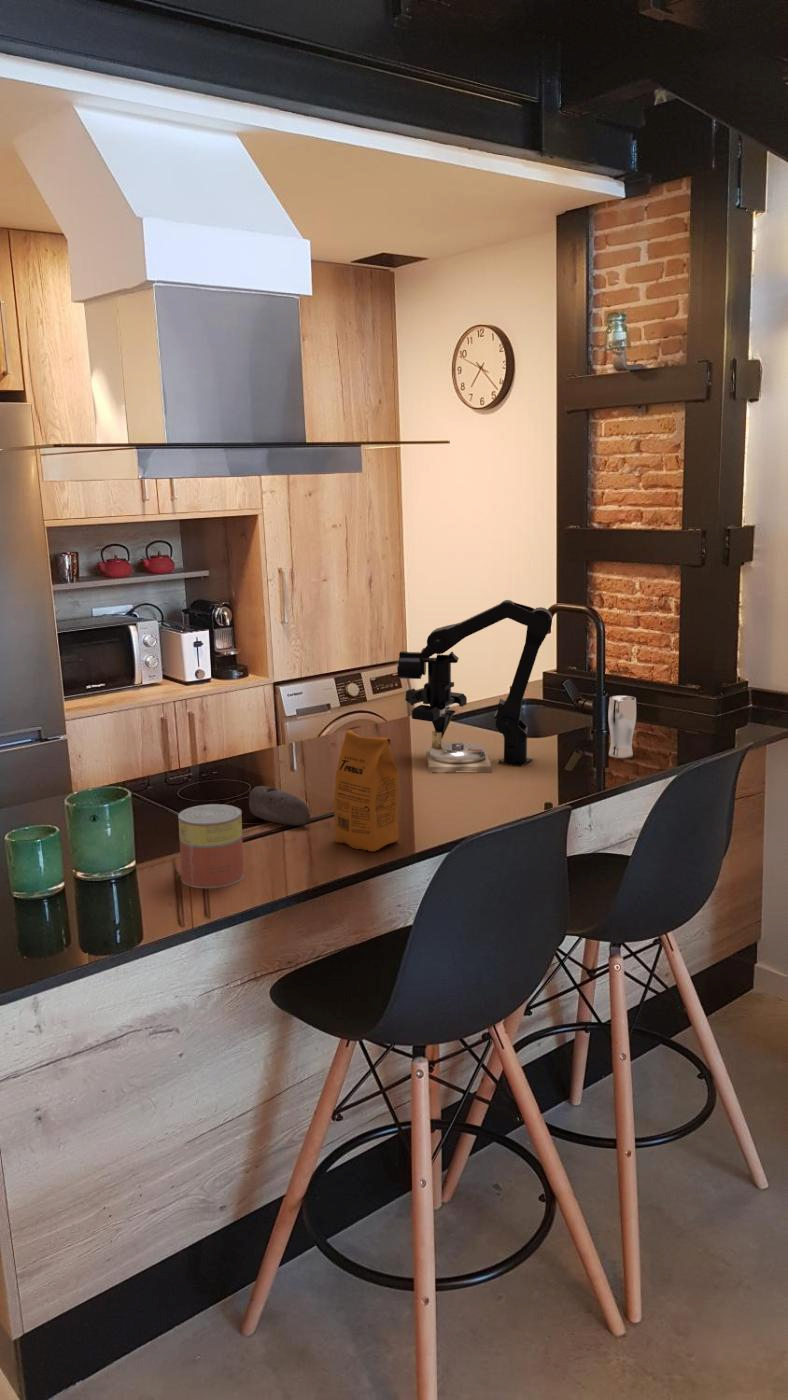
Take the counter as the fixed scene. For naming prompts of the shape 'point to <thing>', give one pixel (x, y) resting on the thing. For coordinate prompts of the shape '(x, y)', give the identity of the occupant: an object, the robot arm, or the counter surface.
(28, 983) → the counter surface
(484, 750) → the handwheel
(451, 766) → the base plate
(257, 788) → the perforated stone tool
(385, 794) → the coffee package
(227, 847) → the canned food
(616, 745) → the beer glass
